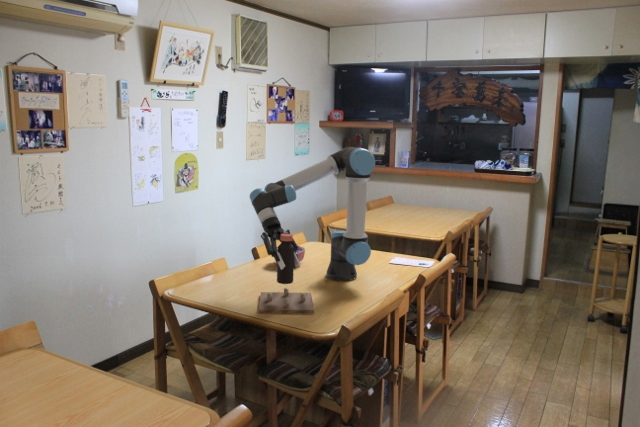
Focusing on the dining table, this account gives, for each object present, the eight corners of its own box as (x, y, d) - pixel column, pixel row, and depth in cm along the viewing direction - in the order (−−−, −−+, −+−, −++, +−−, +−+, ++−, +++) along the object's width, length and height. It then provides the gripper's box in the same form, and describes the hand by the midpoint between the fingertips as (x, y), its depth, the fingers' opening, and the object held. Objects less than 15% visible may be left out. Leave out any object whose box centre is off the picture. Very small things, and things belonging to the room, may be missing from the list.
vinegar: (286, 285, 218) (288, 237, 215) (273, 282, 222) (274, 235, 219) (296, 281, 224) (298, 234, 221) (283, 278, 228) (284, 232, 224)
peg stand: (310, 296, 237) (311, 286, 236) (313, 313, 215) (314, 302, 214) (260, 295, 235) (260, 285, 234) (258, 313, 213) (258, 302, 212)
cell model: (312, 263, 292) (312, 243, 290) (290, 271, 275) (291, 249, 273) (286, 258, 301) (287, 238, 299) (264, 265, 284) (265, 244, 282)
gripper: (284, 223, 237) (305, 268, 228) (246, 227, 225) (266, 274, 215) (292, 214, 232) (313, 258, 223) (253, 217, 220) (274, 265, 210)
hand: (290, 266), depth 219 cm, fingers closed on vinegar, 7 cm apart
